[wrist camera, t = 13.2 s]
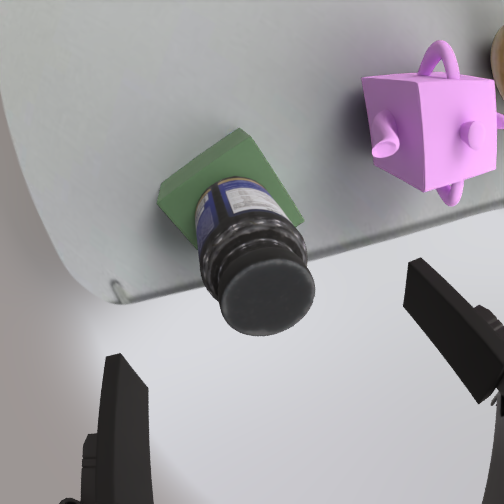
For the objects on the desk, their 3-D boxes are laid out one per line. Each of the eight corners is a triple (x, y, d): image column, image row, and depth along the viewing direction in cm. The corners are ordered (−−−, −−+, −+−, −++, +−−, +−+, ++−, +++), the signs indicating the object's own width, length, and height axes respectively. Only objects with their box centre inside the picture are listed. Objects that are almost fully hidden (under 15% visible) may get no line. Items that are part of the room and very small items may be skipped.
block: (215, 248, 31) (221, 276, 27) (160, 183, 27) (156, 203, 22) (287, 199, 30) (305, 221, 26) (239, 127, 25) (250, 136, 21)
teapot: (395, 21, 22) (474, 14, 13) (461, 105, 28) (532, 127, 18) (315, 129, 27) (380, 157, 18) (398, 200, 32) (461, 247, 23)
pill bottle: (226, 260, 26) (252, 362, 17) (177, 207, 23) (175, 300, 14) (287, 216, 25) (347, 302, 16) (243, 157, 22) (291, 218, 13)
